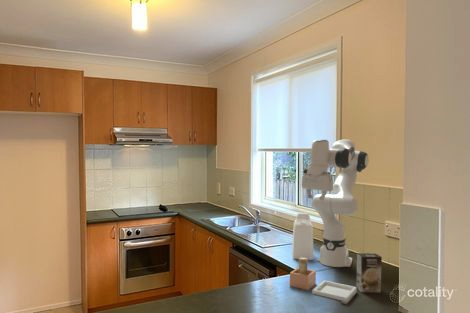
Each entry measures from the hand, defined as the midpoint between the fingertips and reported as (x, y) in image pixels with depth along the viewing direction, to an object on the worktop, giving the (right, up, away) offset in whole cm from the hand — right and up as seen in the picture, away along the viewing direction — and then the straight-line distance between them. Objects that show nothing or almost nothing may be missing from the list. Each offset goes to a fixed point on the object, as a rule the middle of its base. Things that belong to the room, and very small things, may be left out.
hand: (315, 199), depth 180 cm
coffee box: (+21, -40, -14) cm, 47 cm away
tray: (+4, -40, -20) cm, 44 cm away
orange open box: (-9, -39, -12) cm, 42 cm away
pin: (-9, -38, -12) cm, 41 cm away
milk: (+1, -39, +39) cm, 55 cm away
